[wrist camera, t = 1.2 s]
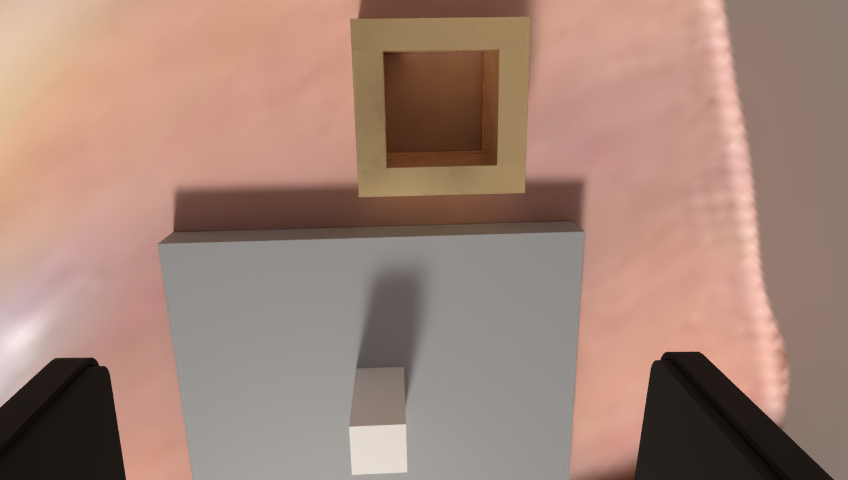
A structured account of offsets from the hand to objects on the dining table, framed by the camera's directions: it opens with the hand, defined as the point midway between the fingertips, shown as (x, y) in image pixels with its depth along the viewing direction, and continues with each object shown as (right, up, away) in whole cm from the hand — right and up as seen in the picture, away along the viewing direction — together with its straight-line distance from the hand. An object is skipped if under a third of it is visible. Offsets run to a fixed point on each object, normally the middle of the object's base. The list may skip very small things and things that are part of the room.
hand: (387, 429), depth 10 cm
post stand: (-2, -4, +22) cm, 22 cm away
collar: (+1, +10, +18) cm, 21 cm away
